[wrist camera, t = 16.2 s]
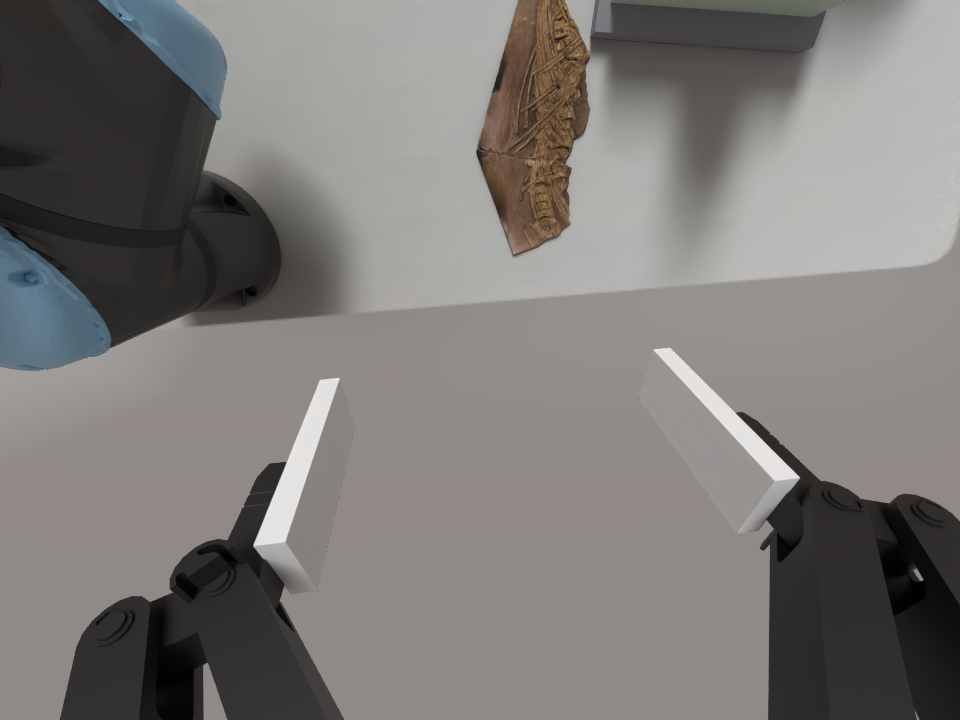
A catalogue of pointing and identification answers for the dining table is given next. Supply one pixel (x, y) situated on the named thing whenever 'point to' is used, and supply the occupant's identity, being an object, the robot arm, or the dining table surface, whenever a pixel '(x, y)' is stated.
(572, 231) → the dining table surface
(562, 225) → the wooden fragment
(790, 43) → the block
